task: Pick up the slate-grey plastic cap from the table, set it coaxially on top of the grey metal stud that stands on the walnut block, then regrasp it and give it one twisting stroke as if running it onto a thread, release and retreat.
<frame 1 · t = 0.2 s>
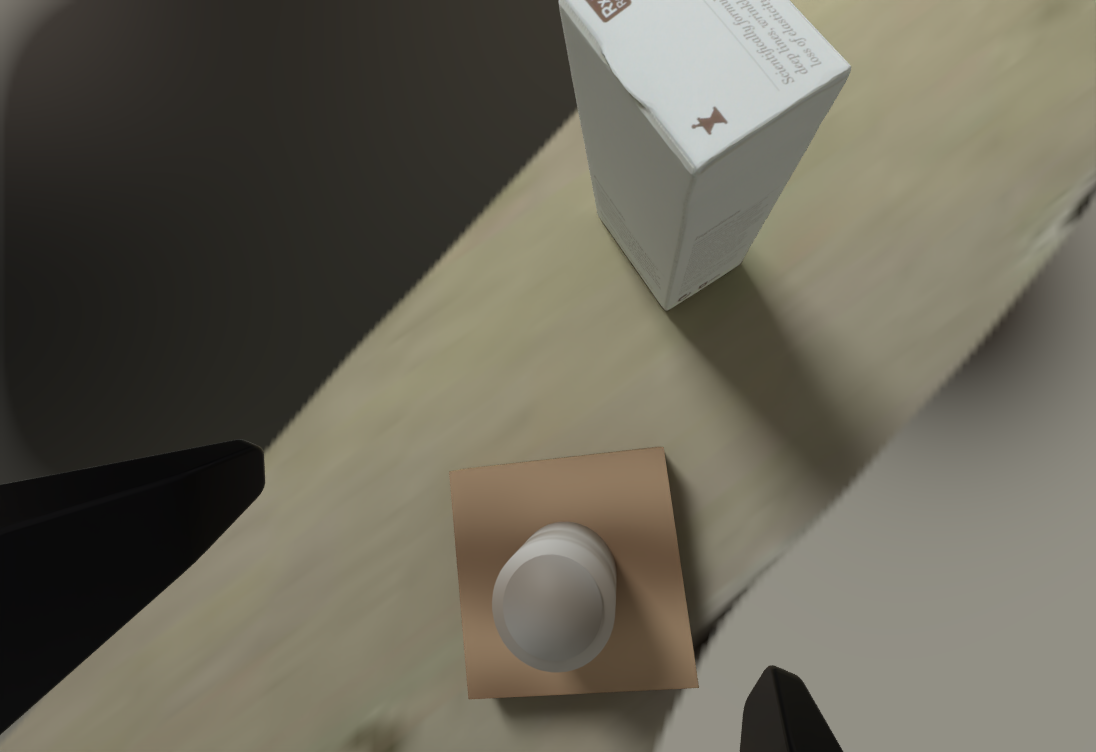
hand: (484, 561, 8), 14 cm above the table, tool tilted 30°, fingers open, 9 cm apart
threaded post: (571, 560, 22), on the table
skincare box: (662, 239, 23), on the table
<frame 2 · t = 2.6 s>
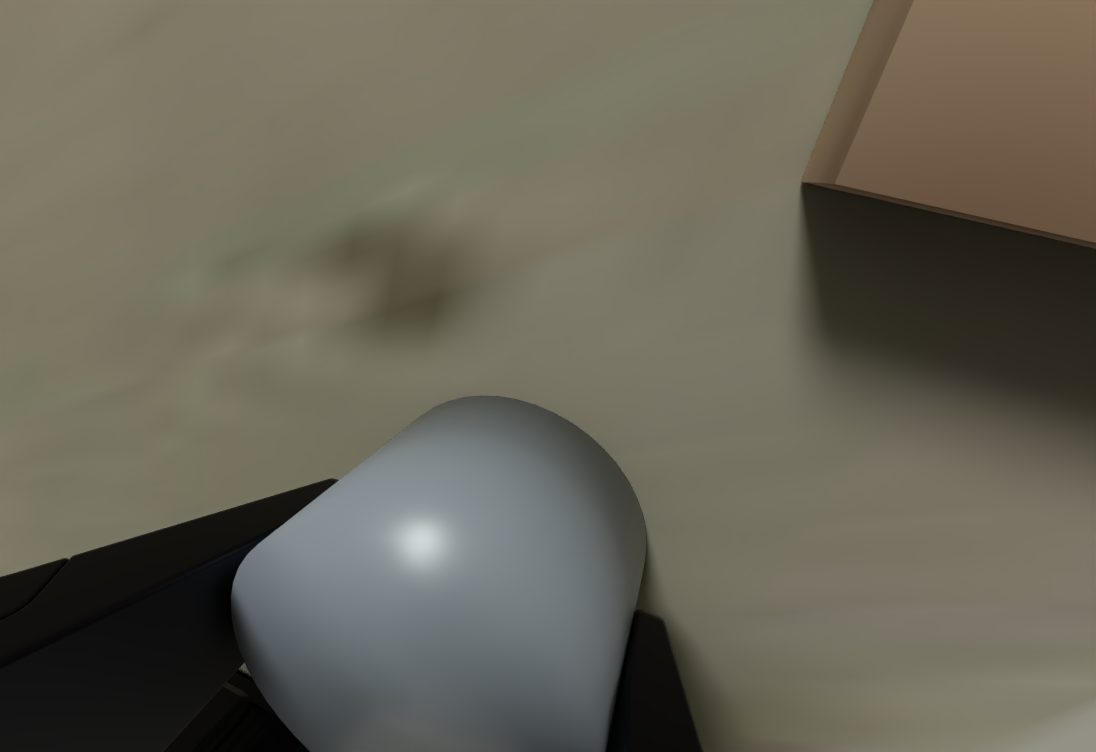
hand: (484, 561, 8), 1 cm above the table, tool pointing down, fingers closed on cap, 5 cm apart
cap: (508, 521, 9), on the table, touching gripper
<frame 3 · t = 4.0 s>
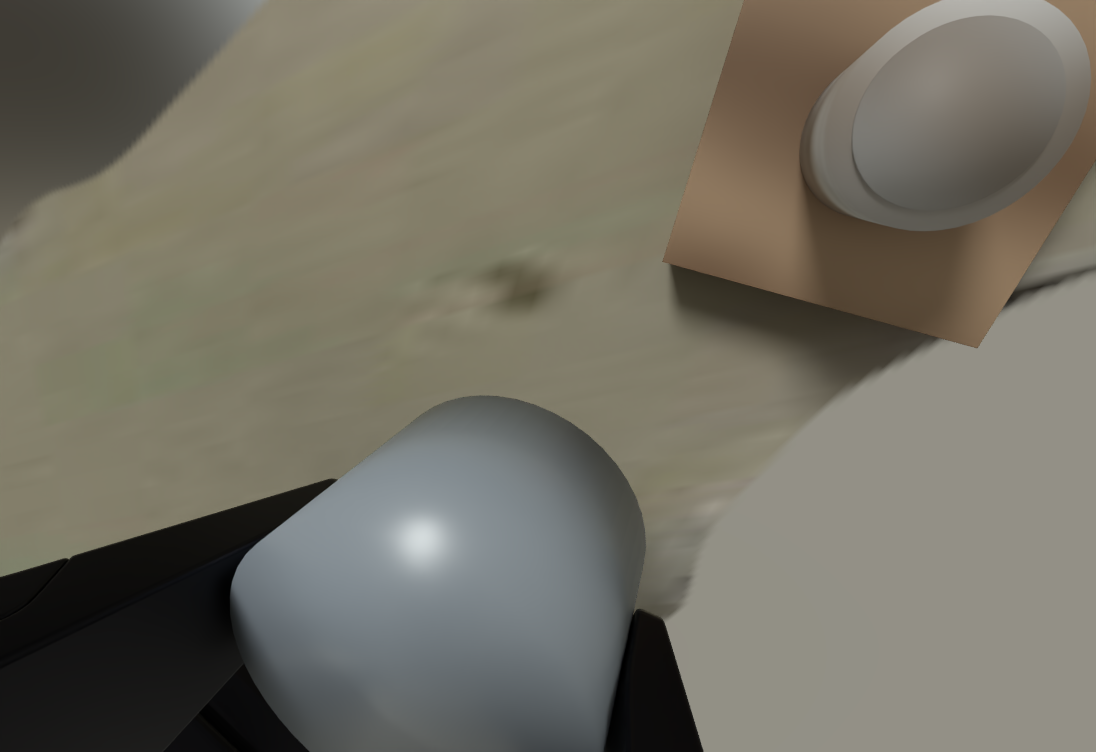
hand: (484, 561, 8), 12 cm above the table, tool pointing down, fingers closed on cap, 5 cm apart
threaded post: (864, 143, 15), on the table
cap: (507, 521, 9), point 11 cm above the table, touching gripper
when the fingers open (8 cm above the table, at t = 5.7 s): cap stays where it is, resting on threaded post.
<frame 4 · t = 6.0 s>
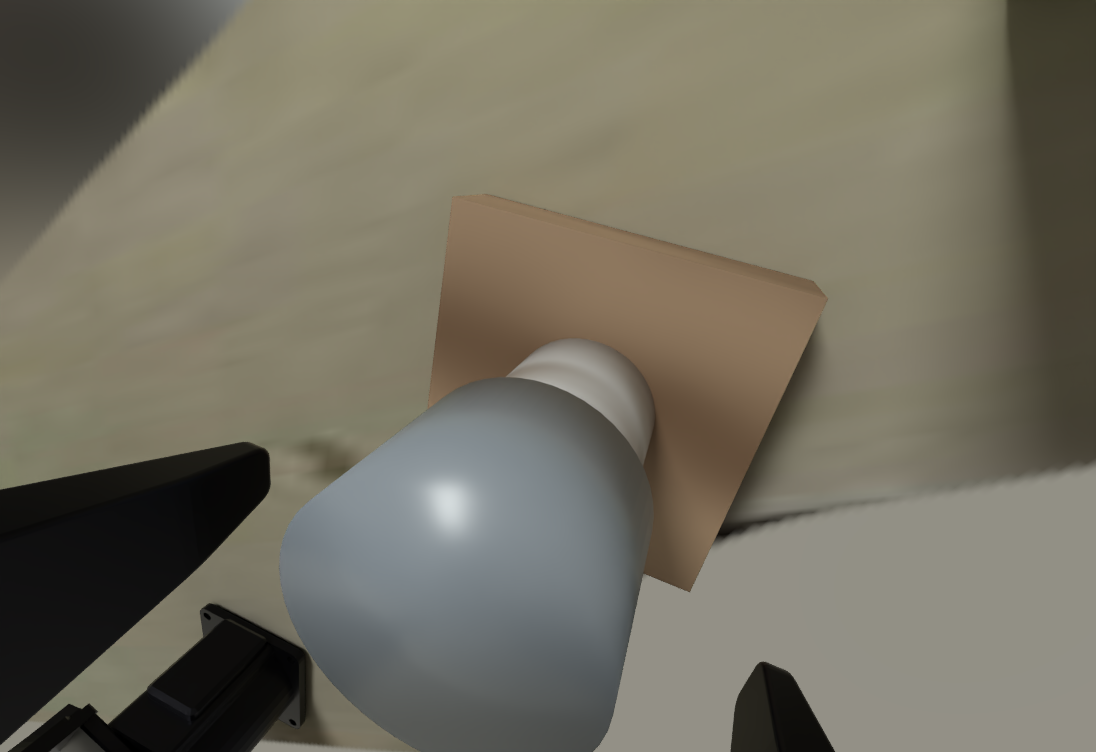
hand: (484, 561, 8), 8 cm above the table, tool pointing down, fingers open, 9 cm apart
threaded post: (596, 382, 15), on the table
cap: (524, 496, 10), point 6 cm above the table, touching threaded post
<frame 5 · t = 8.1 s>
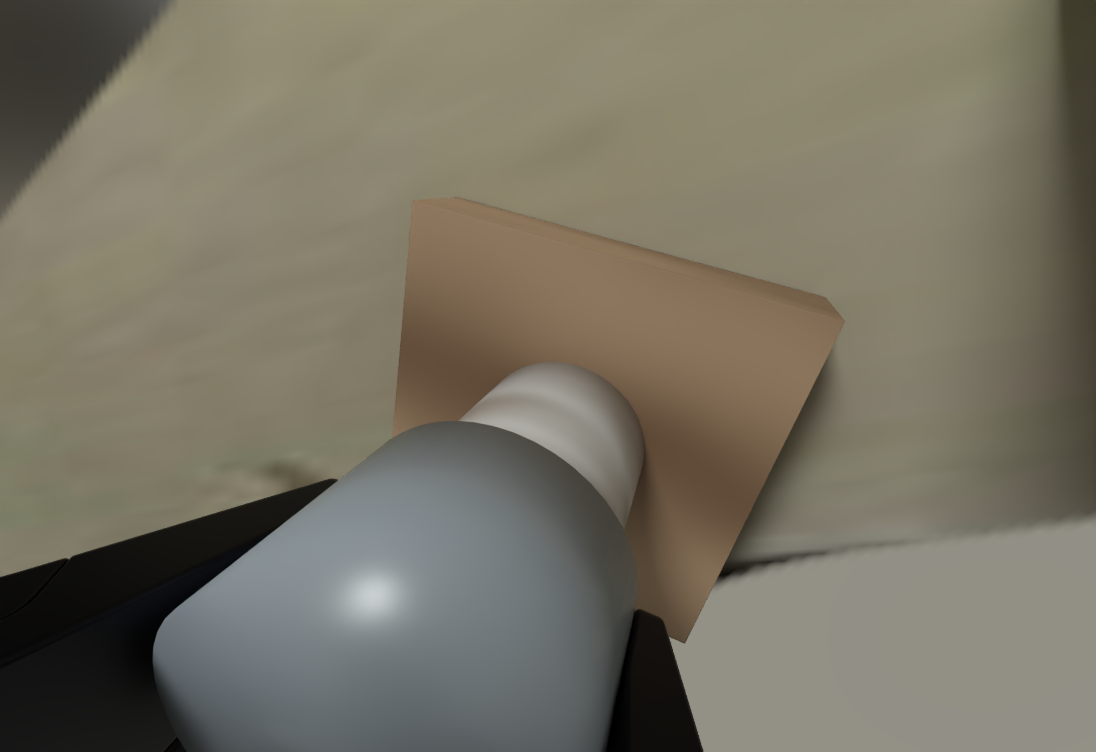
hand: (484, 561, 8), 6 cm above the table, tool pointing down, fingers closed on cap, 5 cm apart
threaded post: (581, 406, 14), on the table
cap: (485, 557, 8), point 6 cm above the table, touching gripper, threaded post
when the fingers open (6 cm above the table, at t = 9.9 s): cap stays where it is, resting on threaded post.
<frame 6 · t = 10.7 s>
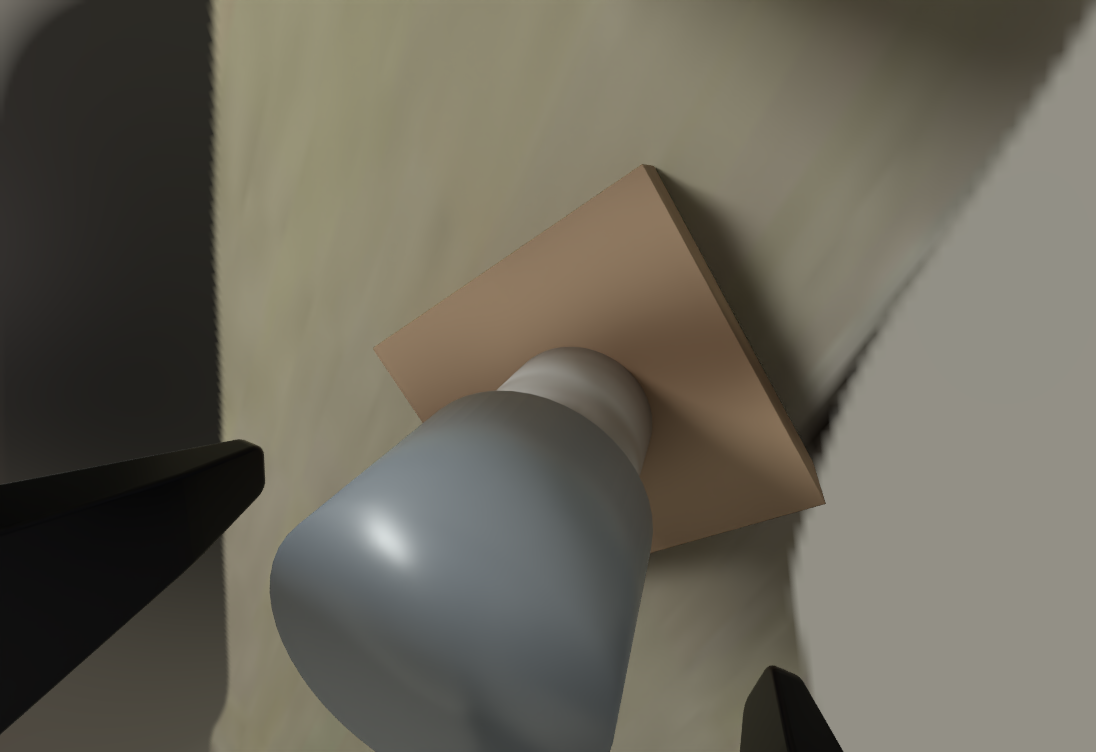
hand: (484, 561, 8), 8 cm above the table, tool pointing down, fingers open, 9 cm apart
threaded post: (593, 389, 15), on the table
cap: (521, 510, 10), point 6 cm above the table, touching threaded post
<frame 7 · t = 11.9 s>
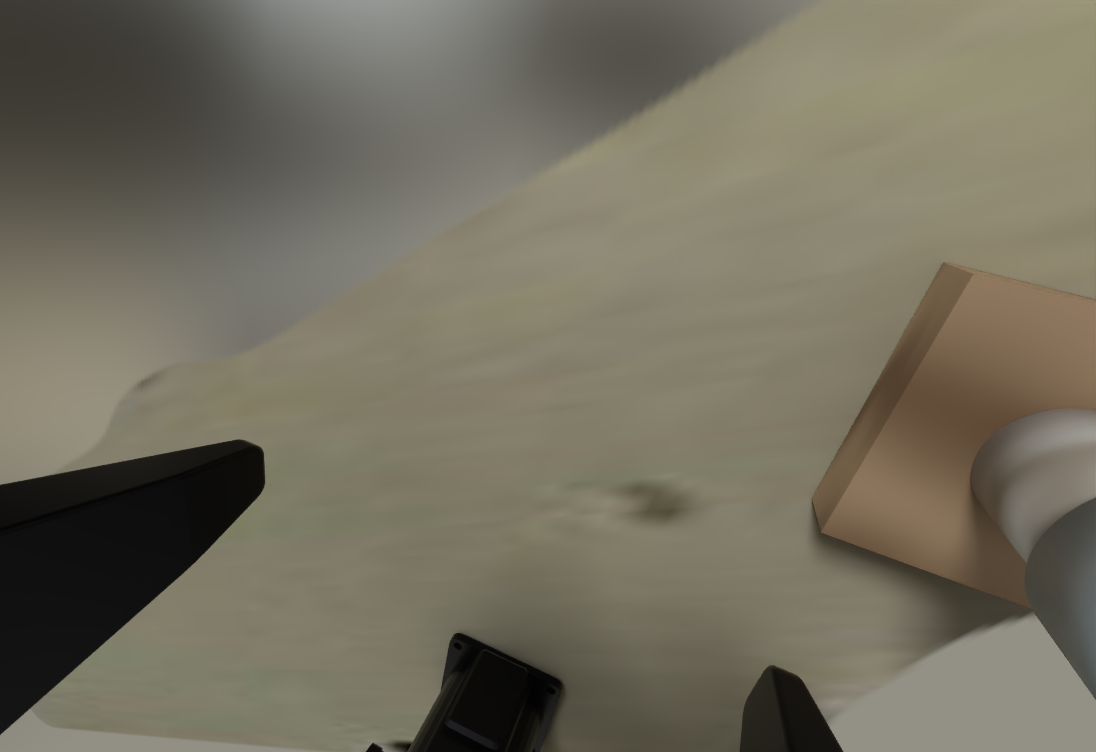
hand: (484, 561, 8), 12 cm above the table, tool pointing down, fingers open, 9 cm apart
threaded post: (1021, 440, 16), on the table
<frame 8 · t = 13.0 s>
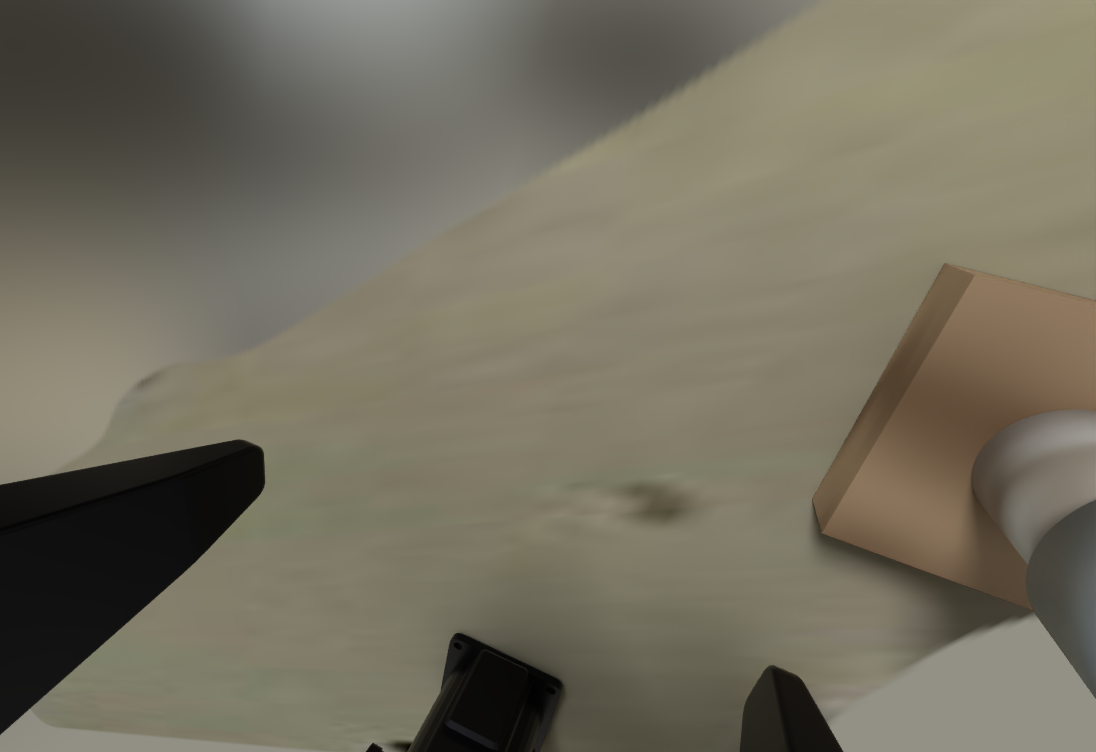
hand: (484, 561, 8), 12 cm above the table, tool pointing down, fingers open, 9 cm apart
threaded post: (1021, 441, 16), on the table
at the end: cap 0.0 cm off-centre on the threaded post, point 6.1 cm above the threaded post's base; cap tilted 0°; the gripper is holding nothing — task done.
